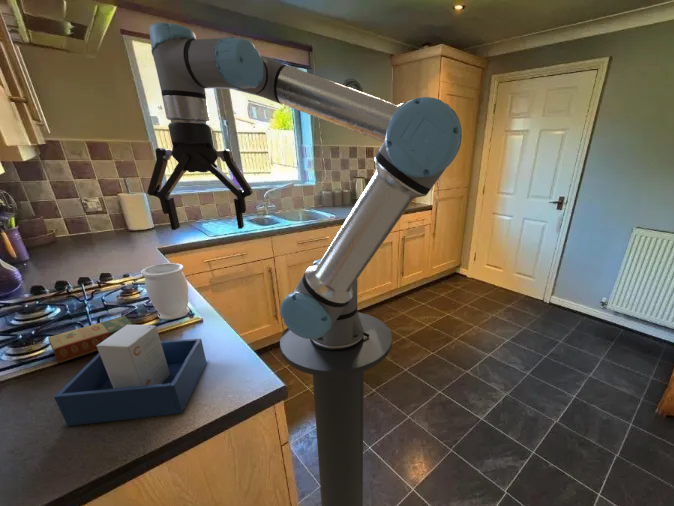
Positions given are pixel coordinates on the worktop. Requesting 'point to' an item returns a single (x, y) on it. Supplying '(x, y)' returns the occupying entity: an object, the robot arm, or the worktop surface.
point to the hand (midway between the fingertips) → (209, 228)
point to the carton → (84, 338)
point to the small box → (134, 357)
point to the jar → (167, 289)
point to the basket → (133, 389)
